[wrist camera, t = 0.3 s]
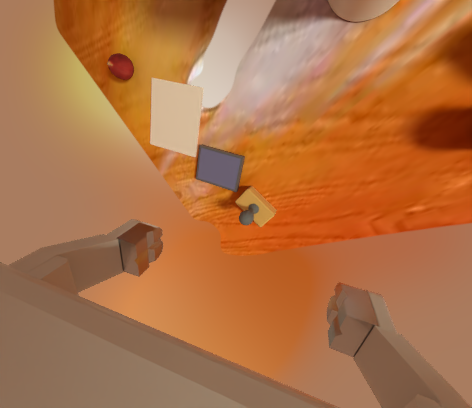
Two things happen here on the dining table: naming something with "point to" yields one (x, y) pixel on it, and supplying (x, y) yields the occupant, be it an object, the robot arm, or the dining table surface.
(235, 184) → the ink pad
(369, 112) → the dining table surface
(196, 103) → the paper
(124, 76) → the onion
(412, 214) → the dining table surface
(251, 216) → the rubber stamp
